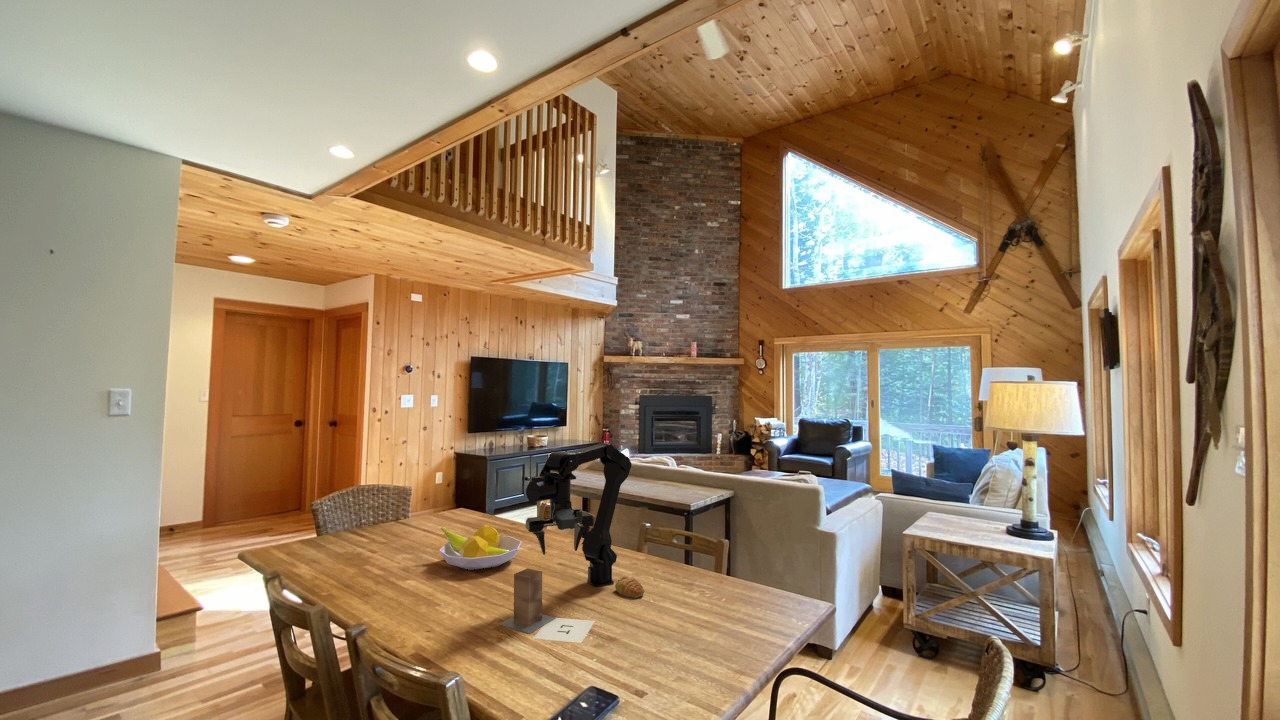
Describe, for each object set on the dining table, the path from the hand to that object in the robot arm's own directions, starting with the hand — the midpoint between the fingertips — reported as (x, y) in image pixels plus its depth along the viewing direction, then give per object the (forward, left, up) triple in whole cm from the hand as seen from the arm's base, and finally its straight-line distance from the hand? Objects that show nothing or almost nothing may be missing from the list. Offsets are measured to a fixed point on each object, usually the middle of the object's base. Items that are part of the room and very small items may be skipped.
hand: (559, 552), depth 154 cm
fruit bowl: (+17, -42, -13) cm, 47 cm away
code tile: (+4, +20, -13) cm, 24 cm away
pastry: (-20, +3, -14) cm, 25 cm away
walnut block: (+11, +12, -12) cm, 21 cm away
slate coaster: (+11, +12, -13) cm, 21 cm away
